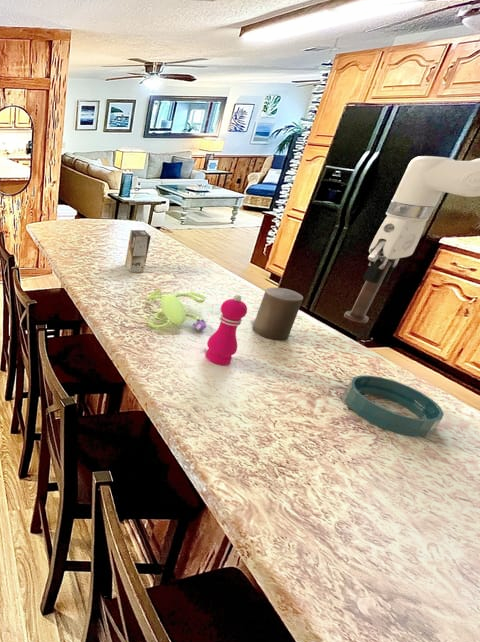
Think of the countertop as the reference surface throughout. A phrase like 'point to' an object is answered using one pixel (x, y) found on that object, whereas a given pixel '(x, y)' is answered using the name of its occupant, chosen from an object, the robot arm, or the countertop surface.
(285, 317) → the pillar candle
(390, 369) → the countertop surface
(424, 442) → the countertop surface
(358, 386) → the ring
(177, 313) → the figurine
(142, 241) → the coffee box
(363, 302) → the stick
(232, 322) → the pepper mill
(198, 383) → the countertop surface
